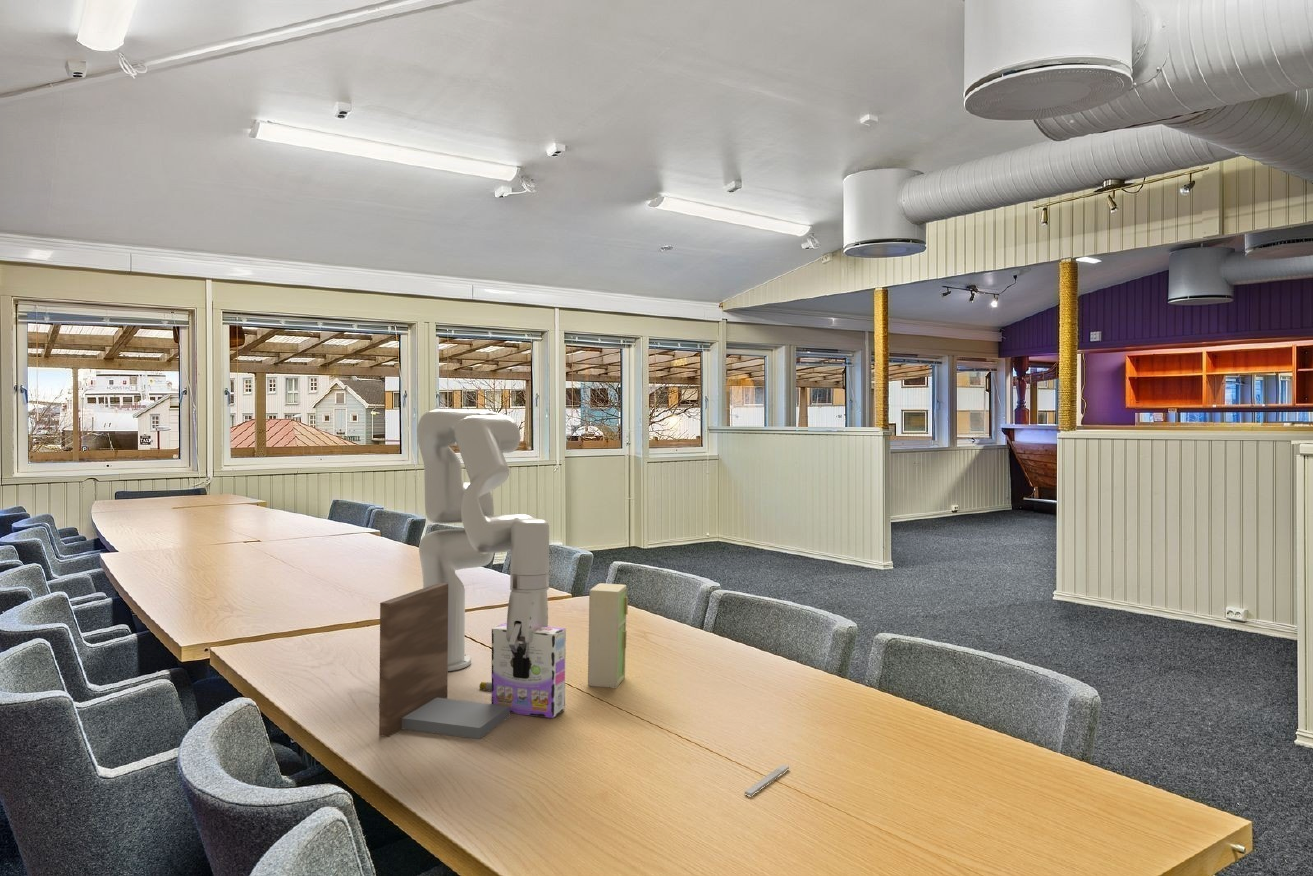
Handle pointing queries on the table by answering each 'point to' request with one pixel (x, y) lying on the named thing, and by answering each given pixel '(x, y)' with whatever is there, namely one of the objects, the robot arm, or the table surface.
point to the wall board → (412, 654)
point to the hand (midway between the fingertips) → (528, 671)
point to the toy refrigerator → (607, 634)
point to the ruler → (766, 780)
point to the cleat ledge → (456, 717)
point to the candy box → (530, 673)
